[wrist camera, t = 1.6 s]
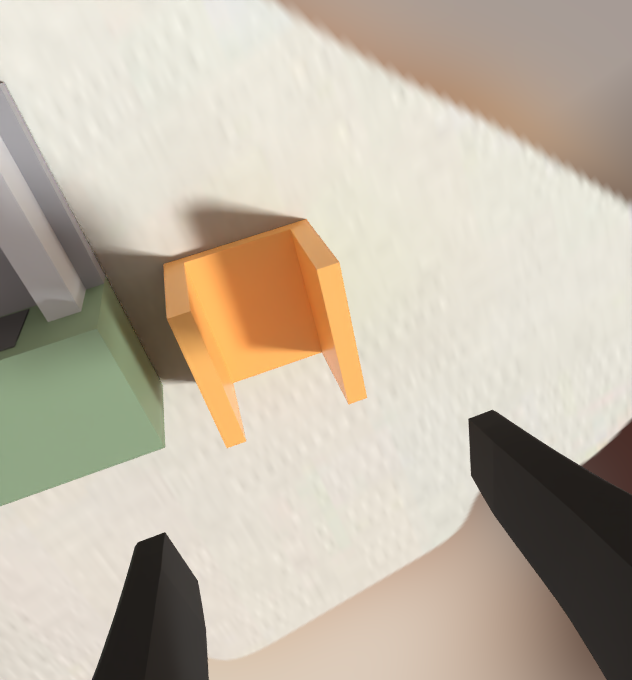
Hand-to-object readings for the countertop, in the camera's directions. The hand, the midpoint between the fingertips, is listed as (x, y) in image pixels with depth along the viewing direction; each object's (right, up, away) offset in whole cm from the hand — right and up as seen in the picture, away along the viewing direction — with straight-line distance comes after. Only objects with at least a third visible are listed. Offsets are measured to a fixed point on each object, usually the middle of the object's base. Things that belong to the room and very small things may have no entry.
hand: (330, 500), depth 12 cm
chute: (-3, +5, +8) cm, 10 cm away
